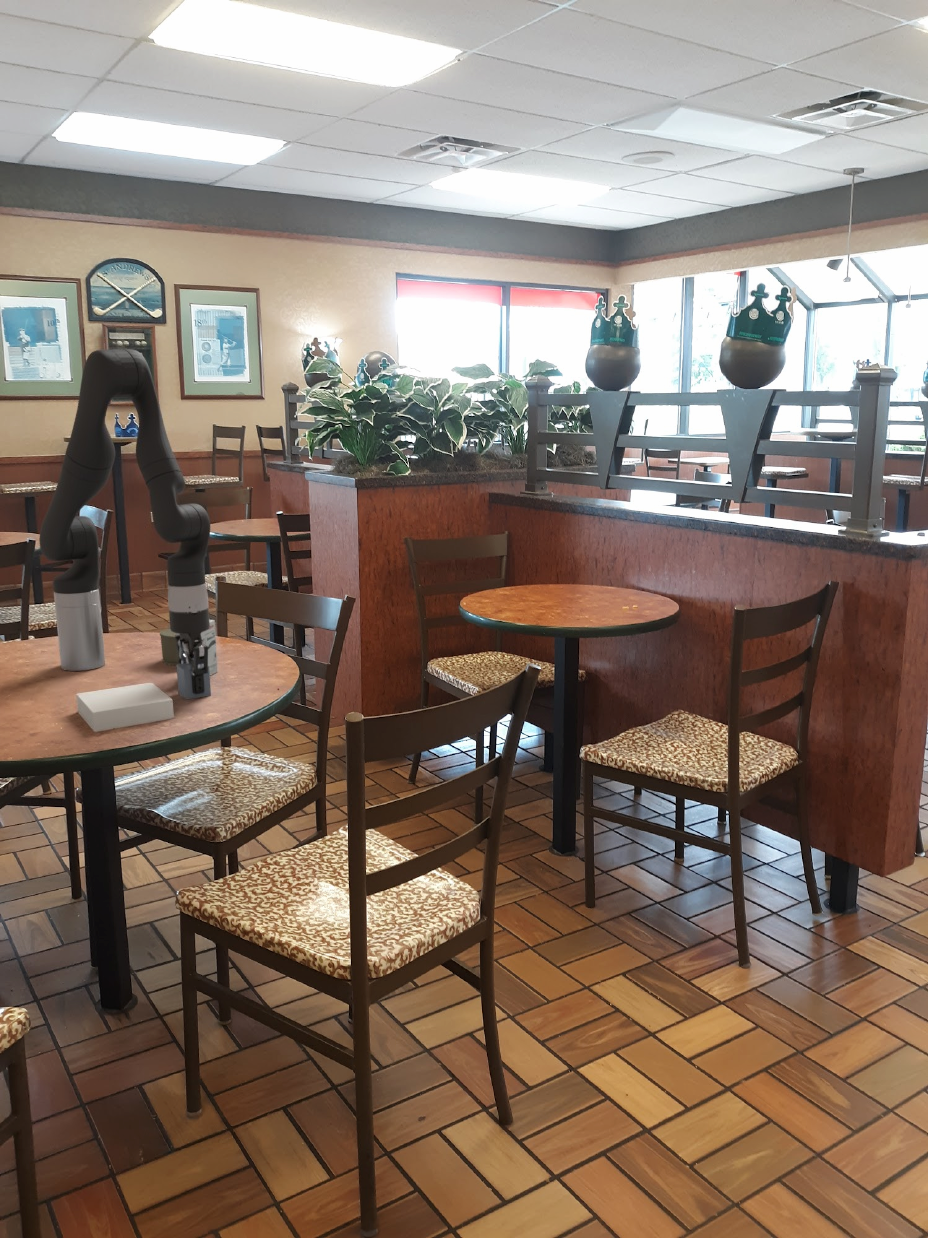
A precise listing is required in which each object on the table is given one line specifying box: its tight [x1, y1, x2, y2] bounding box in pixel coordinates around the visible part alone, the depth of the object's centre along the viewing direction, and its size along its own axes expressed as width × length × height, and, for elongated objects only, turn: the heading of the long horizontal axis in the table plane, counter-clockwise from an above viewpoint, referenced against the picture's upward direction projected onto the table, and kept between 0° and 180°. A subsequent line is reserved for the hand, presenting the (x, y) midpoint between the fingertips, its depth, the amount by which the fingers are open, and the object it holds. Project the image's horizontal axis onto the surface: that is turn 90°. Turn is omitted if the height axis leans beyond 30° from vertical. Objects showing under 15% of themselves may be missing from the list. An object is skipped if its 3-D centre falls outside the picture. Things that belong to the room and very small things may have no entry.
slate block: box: [176, 663, 212, 700], centre depth 192 cm, size 5×5×6 cm
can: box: [159, 627, 179, 667], centre depth 220 cm, size 12×12×7 cm
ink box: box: [177, 619, 218, 677], centre depth 205 cm, size 9×5×12 cm, turn 168°
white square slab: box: [76, 682, 175, 733], centre depth 180 cm, size 14×14×4 cm
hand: (194, 689), depth 193 cm, fingers closed on slate block, 5 cm apart
